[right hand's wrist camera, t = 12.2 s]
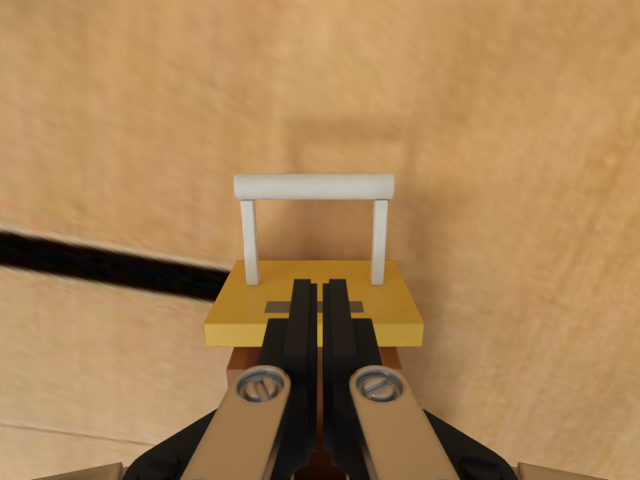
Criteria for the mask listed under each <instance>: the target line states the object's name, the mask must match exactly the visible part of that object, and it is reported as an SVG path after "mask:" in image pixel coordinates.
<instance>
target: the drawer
mask: <svg viewBox="0 0 640 480" xmlns="http://www.w3.org/2000/svg"><path fill="white" fill-rule="evenodd" d="M233 189H234V195H235V198H236V199H237V200H241V202H240V204H241V217H242V230H243V243H244V257H245V260H238V261H236V263H235V265H234V267H233V269H232V271H231V272H230V274H229V276H228V278H227V280H226V282H225V284H224V286H223V288H222V290H221V292H220V294H219V295H218V297H217V299H216V301H215V303H214V305H213V307H212V309H211V311H210V313H209V315H208V317H207V318H206V320H205V322H204V331H205V339H206V346H207V347H234V349H233V352H232V355H231V358H230V361H229V364H228V367H227V370H226V371H227V380H228V388H229V386H230V384H231V383H232V381H233V380H234V378H235V377H236V376H237V375H238V374H240V373H241V372H242V371H244V370H246V369H248V368H251V367H255V366H257V364H258V360H259V356H260V352H261V347H262V343H263V339H264V335H265V330H266V326H267V322H268V319H269V318H289V311H290V304H291V297H292V290H293V284H294V279H311V283H317V339H318V365H317V452H309V460H308V466H302V467H301V468H300V469H299V470H297V471H296V472H295V473H294V480H346V473H345V472H344V471H343V470H341V469H340V468H339V467H338V466H332V460H331V452H323V365H322V339H323V283H329V279H346V284H347V290H348V297H349V304H350V311H351V318H371V319H372V322H373V326H374V330H375V335H376V339H377V343H378V347H379V352H380V356H381V360H382V364H383V366H385V367H389V368H392V369H394V370H396V371H398V372H399V373H400V374H402V370H403V369H402V366H401V363H400V360H399V356H398V353H397V350H396V347H416V346H422V340H423V331H424V322H423V320H422V318H421V316H420V313H419V311H418V309H417V307H416V305H415V303H414V301H413V298H412V296H411V294H410V292H409V290H408V288H407V286H406V283H405V281H404V279H403V277H402V275H401V273H400V271H399V268H398V266H397V264H396V262H395V260H385V248H386V231H387V215H388V200H387V199H392V198H393V196H394V191H395V179H394V175H393V174H392V173H318V174H235V176H234V182H233ZM322 199H374V213H373V234H372V255H371V260H259V259H258V243H257V227H256V212H255V200H322Z"/></svg>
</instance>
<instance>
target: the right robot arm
mask: <svg viewBox="0 0 640 480" xmlns="http://www.w3.org/2000/svg"><path fill="white" fill-rule="evenodd" d="M317 365H318V339H317V283H311V279H294V284H293V290H292V297H291V304H290V311H289V318H269V319H268V322H267V326H266V330H265V335H264V339H263V343H262V347H261V352H260V356H259V360H258V364H257V366H255V367H251V368H248V369H246V370H244V371H242V372H241V373H240V374H238V375H237V376H236V377H235V378H234V380H233V381H232V383H231V384H230V386H229V388H228V390H227V392H226V394H225V396H224V398H223V400H222V401H221V403H220V405H219V407H218V408H217V409H216V410H214V411H213V412H211V413H209V414H208V415H206V416H204V417H203V418H201V419H199V420H198V421H196V422H194V423H193V424H191V425H189V426H188V427H186V428H184V429H183V430H181V431H180V432H178V433H176V434H175V435H173V436H171V437H170V438H168V439H166V440H165V441H163V442H161V443H160V444H158V445H156V446H155V447H153V448H151V449H150V450H148V451H147V452H145V453H144V454H142V455H141V456H140V457H138V458H137V459H136V460H135V461H134V462H133V463H132V464H131V465H130V466H129V467H124V468H123V465H122V462H119V463H114V464H109V465H104V466H99V467H94V468H89V469H84V470H79V471H74V472H69V473H64V474H59V475H54V476H49V477H44V478H38V479H33V480H294V473H295V472H296V471H297V470H299V469H300V468H301V467H302V466H308V460H309V452H317ZM322 365H323V452H331V460H332V466H338V467H339V468H340V469H341V470H343V471H344V472H345V473H346V480H607V479H602V478H596V477H591V476H586V475H581V474H576V473H571V472H566V471H561V470H556V469H551V468H546V467H541V466H536V465H531V464H526V463H521V462H518V465H517V468H516V467H511V466H510V465H509V464H508V463H507V462H506V461H505V460H504V459H503V458H502V457H500V456H499V455H498V454H496V453H495V452H493V451H492V450H490V449H488V448H487V447H485V446H484V445H482V444H480V443H479V442H477V441H475V440H474V439H472V438H470V437H469V436H467V435H465V434H464V433H462V432H460V431H459V430H457V429H456V428H454V427H452V426H451V425H449V424H447V423H446V422H444V421H442V420H441V419H439V418H437V417H436V416H434V415H432V414H431V413H429V412H427V411H426V410H424V409H423V408H422V407H421V405H420V403H419V401H418V400H417V398H416V396H415V394H414V392H413V390H412V388H411V386H410V384H409V383H408V381H407V380H406V378H405V377H404V376H403V375H402V374H400V373H399V372H398V371H396V370H394V369H392V368H389V367H385V366H383V364H382V360H381V356H380V352H379V347H378V343H377V339H376V335H375V330H374V326H373V322H372V319H371V318H351V311H350V304H349V297H348V290H347V284H346V279H329V283H323V339H322Z"/></svg>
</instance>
